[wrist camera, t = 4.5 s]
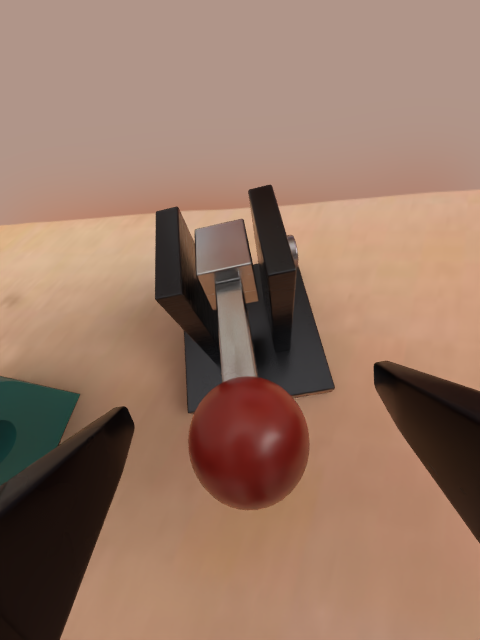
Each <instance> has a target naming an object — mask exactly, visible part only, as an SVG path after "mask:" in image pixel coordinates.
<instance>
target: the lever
mask: <svg viewBox="0 0 480 640" xmlns="http://www.w3.org/2000/svg"><path fill="white" fill-rule="evenodd" d="M195 267H196V277H197V279H198V281H199V283H200V285H201V288H202V290H203V292H204V294H205V296H206V298H207V300H208V303H209V305H210V307H211V309H212V310H217V322H218V334H219V347H220V359H221V372H222V383H221V384H219V385H217V386H216V387H215V388H213V389H212V390H211V391H210V392H209V393H208V394H207V395H206V396H205V397H204V398H203V399H202V401H201V402H200V404H199V405H198V407H197V409H196V411H195V413H194V415H193V418H192V421H191V425H190V430H189V439H188V444H189V455H190V460H191V463H192V467H193V469H194V472H195V474H196V476H197V478H198V479H199V481H200V483H201V484H202V485H203V487H204V488H205V489H206V490H207V491H208V492H209V493H210V494H211V495H212V496H213V497H214V498H215V499H217V500H218V501H220V502H221V503H223V504H225V505H228V506H230V507H233V508H237V509H242V510H258V509H263V508H267V507H269V506H272V505H274V504H276V503H278V502H279V501H281V500H283V499H284V498H285V497H286V496H287V495H289V494H290V493H291V491H292V490H293V489H294V488H295V487H296V485H297V484H298V482H299V481H300V479H301V477H302V475H303V473H304V471H305V468H306V465H307V461H308V456H309V433H308V428H307V424H306V421H305V417H304V415H303V413H302V411H301V409H300V407H299V406H298V404H297V403H296V401H295V400H294V399H293V398H292V396H291V395H290V394H289V393H288V392H287V391H286V390H284V389H283V388H282V387H280V386H279V385H277V384H275V383H274V382H272V381H269V380H267V379H263V378H260V377H259V376H258V370H257V364H256V358H255V352H254V346H253V340H252V334H251V328H250V321H249V315H248V309H247V303H252V302H257V301H259V296H258V290H257V285H256V279H255V274H254V268H253V263H252V258H251V253H250V248H249V243H248V238H247V234H246V229H245V224H244V220H243V219H239V220H234V221H230V222H225V223H221V224H217V225H212V226H208V227H203V228H199V229H195Z"/></svg>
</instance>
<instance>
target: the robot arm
mask: <svg viewBox="0 0 480 640" xmlns="http://www.w3.org/2000/svg"><path fill="white" fill-rule="evenodd" d="M374 385H375V388H376V390H377V392H378V394H379V396H380V398H381V399H382V401H383V403H384V405H385V406H386V408H387V410H388V412H389V414H390V415H391V417H392V419H393V421H394V422H395V424H396V426H397V427H398V429H399V431H400V432H401V434H402V435H403V437H404V438H405V439H406V441H407V442H408V444H409V445H410V446H411V448H412V449H413V451H414V452H415V453H416V455H417V456H418V458H419V459H420V460H421V462H422V463H423V465H424V466H425V467H426V469H427V470H428V472H429V473H430V474H431V476H432V477H433V479H434V480H435V481H436V483H437V484H438V486H439V487H440V488H441V490H442V491H443V493H444V494H445V495H446V497H447V498H448V500H449V501H450V502H451V504H452V505H453V507H454V508H455V509H456V511H457V512H458V514H459V515H460V516H461V518H462V519H463V521H464V522H465V523H466V525H467V526H468V528H469V529H470V530H471V532H472V533H473V535H474V536H475V537H476V539H477V540H478V542H479V543H480V391H478V390H475V389H472V388H468V387H465V386H462V385H459V384H456V383H453V382H450V381H447V380H444V379H441V378H438V377H435V376H432V375H429V374H426V373H423V372H420V371H417V370H414V369H411V368H408V367H405V366H402V365H399V364H396V363H393V362H390V361H381V362H376V363H375V364H374ZM133 433H134V422H133V420H132V418H131V415H130V413H129V411H128V409H127V408H126V407H125V406H122V407H116V408H113V409H112V410H110V411H109V412H107V413H106V414H104V415H103V416H101V417H100V418H98V419H97V420H95V421H94V422H92V423H91V424H90V425H88V426H87V427H85V428H84V429H82V430H81V431H79V432H78V433H76V434H75V435H73V436H72V437H71V438H69V439H68V440H66V441H65V442H63V443H62V444H60V445H59V446H57V447H56V448H54V449H53V450H51V451H50V452H49V453H47V454H46V455H44V456H43V457H41V458H40V459H38V460H37V461H35V462H34V463H32V464H31V465H30V466H28V467H27V468H25V469H24V470H22V471H21V472H19V473H18V474H16V475H15V476H13V477H12V478H10V479H9V480H8V481H7V482H5V483H3V484H2V485H0V640H60V638H61V635H62V632H63V630H64V627H65V624H66V622H67V619H68V616H69V614H70V611H71V608H72V606H73V603H74V600H75V598H76V595H77V592H78V590H79V587H80V584H81V582H82V579H83V576H84V574H85V571H86V568H87V566H88V563H89V560H90V558H91V555H92V552H93V550H94V547H95V544H96V542H97V539H98V537H99V534H100V531H101V529H102V526H103V523H104V521H105V518H106V515H107V513H108V510H109V507H110V505H111V502H112V499H113V497H114V494H115V491H116V489H117V486H118V483H119V481H120V478H121V475H122V472H123V469H124V466H125V462H126V459H127V455H128V451H129V448H130V444H131V440H132V437H133Z"/></svg>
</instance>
